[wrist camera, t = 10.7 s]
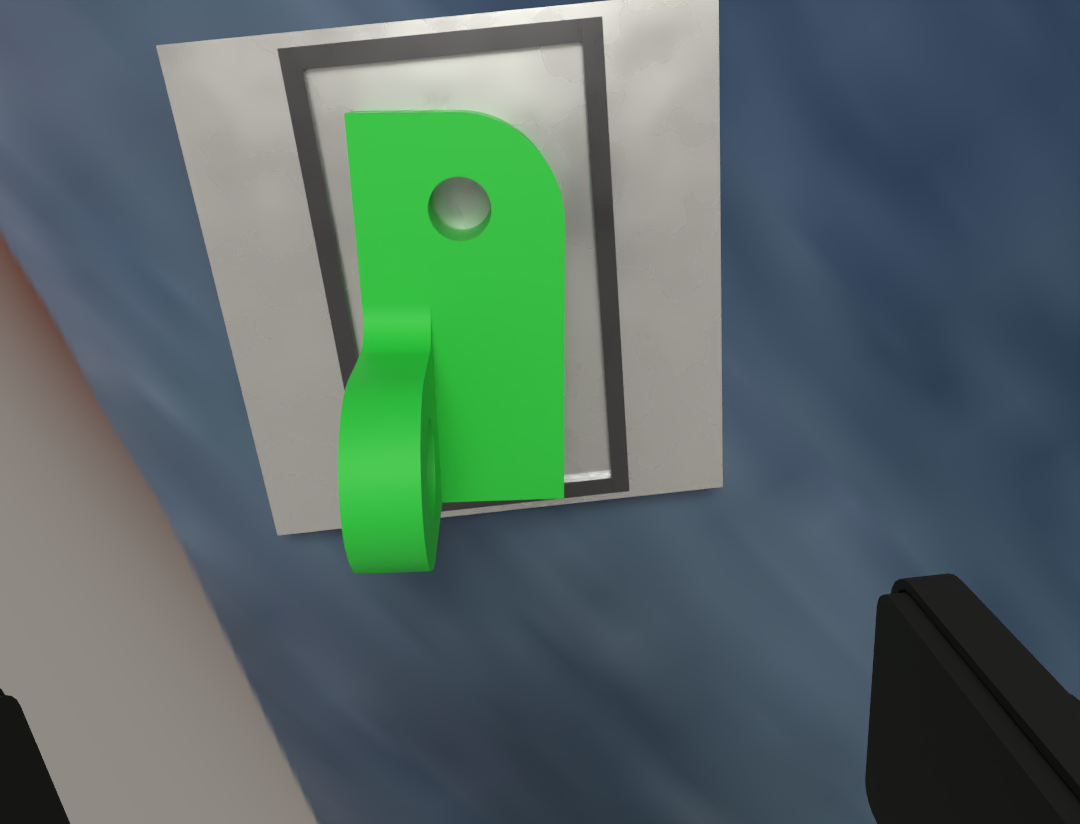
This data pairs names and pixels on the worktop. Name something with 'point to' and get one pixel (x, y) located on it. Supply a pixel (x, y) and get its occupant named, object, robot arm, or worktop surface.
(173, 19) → the worktop surface
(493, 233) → the mechanical part
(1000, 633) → the robot arm
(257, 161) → the flange
